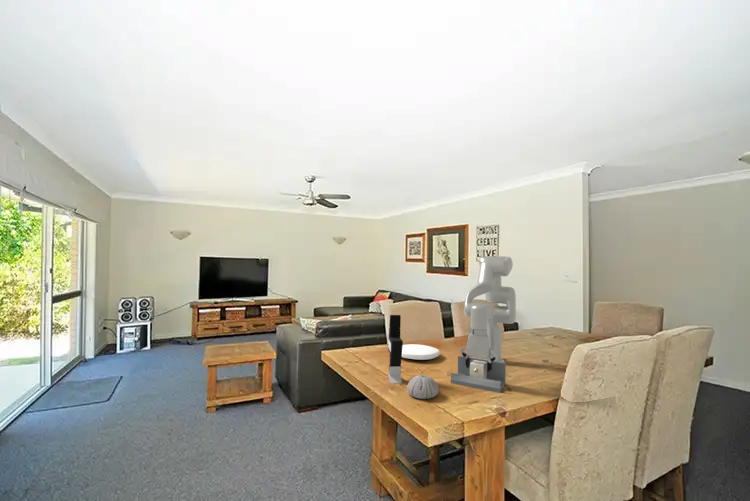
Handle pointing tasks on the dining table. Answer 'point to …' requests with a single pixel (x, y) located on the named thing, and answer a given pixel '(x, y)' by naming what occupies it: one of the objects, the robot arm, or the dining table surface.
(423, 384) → the sea urchin shell
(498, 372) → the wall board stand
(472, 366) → the cabinet block
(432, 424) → the dining table surface
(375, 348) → the dining table surface
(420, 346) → the plate
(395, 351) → the award
